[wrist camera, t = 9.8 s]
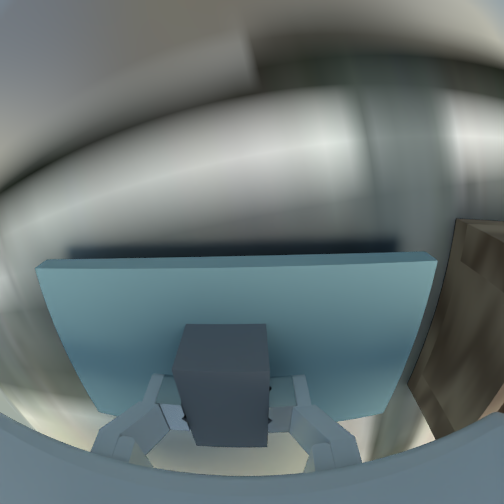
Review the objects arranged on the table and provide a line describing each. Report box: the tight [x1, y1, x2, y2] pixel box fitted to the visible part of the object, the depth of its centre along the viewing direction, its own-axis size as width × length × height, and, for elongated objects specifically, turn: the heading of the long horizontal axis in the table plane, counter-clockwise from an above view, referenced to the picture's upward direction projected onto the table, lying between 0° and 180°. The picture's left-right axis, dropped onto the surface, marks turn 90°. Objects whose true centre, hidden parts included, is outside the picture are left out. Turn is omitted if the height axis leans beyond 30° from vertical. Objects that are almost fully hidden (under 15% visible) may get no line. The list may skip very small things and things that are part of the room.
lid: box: [35, 252, 438, 447], centre depth 10 cm, size 10×17×4 cm, turn 91°
